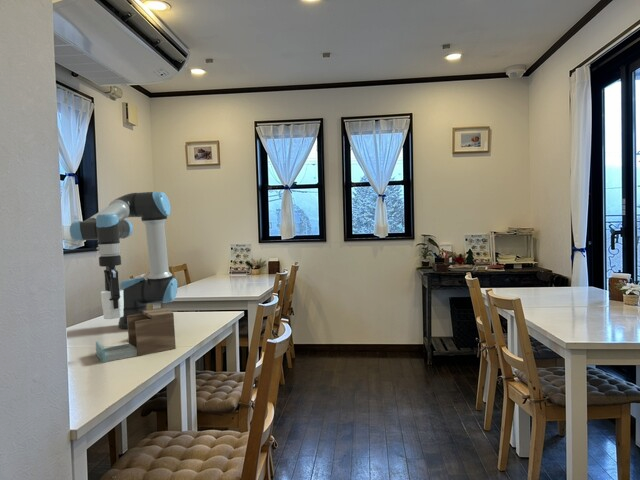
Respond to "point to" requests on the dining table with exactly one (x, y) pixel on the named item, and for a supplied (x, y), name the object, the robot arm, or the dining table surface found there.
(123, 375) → the dining table surface
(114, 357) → the teal drawer
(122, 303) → the white cup
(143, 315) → the wooden drawer box
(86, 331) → the dining table surface
